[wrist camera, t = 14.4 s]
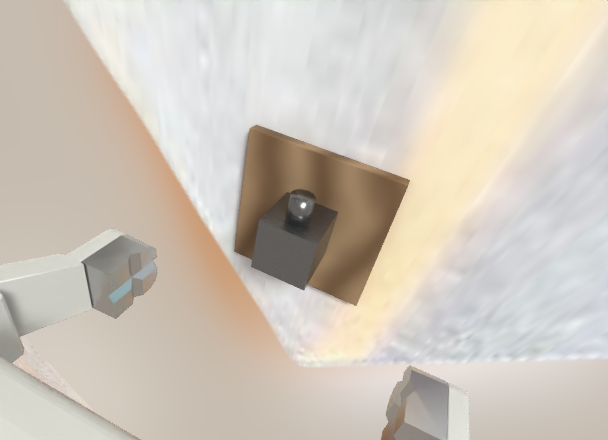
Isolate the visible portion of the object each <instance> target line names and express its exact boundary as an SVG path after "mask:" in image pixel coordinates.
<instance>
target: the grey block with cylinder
mask: <svg viewBox="0 0 608 440" xmlns="http://www.w3.org/2000/svg"><path fill="white" fill-rule="evenodd" d="M315 202H316V196H315V195H314V194H313V193H311V192H310V191H307V190H303V189H296V190H293V191H292V192H291V193H289V192H287V193H286V194H285V195H284V196H283V197H282V198H281V199H280V200H279V201H278V202H277V203H276V204H275V205H274V206H273V207H272V208H271V209H270V210H269V211H268V212H267V213H266V214H265V215H264V216H263V217H262V218H261V219H260V220H259V224H258V230H257V236H256V241H255V247H254V253H253V259H252V265H251V267H253V268H255V269H258V270H260V271H262V272H264V273H266V274H269V275H271V276H273V277H275V278H277V279H280V280H282V281H284V282H286V283H289V284H291V285H293V286H295V287H297V288H300V289H302V290H304V289H305V288H306V286H307V284H308V283H309V281H310V279H311V277H312V276H313V274H314V272H315V271H316V269H317V267H318V265H319V264H320V262H321V260H322V259H323V257H324V255H325V253H326V249H327V246H328V243H329V240H330V237H331V234H332V231H333V228H334V224H335V221H336V218H337V215H338V212H337V211H335V210H332V209H330V208H327V207H325V206H322V205H320V204H317V203H315Z"/></svg>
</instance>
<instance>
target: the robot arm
mask: <svg viewBox="0 0 608 440" xmlns="http://www.w3.org/2000/svg"><path fill="white" fill-rule="evenodd" d="M156 257H157V255H156V249H155V248H153V247H152V246H150V245H148V244H146V243H144V242H142V241H140V240H138V239H135V238H133V237H132V236H130V235H128V234H125V233H123V232H121V231H119V230H117V229H115V228H113V229H108V230H106V231H104V232H103V233H101V234H99V235H98V236H96V237H94V238H93V239H91V240H89V241H88V242H86V243H85V244H83V245H81V246H80V247H78V248H76V249H75V250H73V251H72V252H70V253H68V254H67V255H65V254H63V253H60V254H55V255H49V256H44V257H39V258H33V259H28V260H23V261H17V262H12V263H7V264H2V265H0V440H140V439H138V438H137V437H135V436H133V435H132V434H130V433H128V432H127V431H125V430H123V429H121V428H120V427H118V426H116V425H115V424H113V423H111V422H110V421H108V420H106V419H105V418H103V417H101V416H100V415H98V414H96V413H94V412H93V411H91V410H89V409H88V408H86V407H84V406H83V405H81V404H79V403H78V402H76V401H74V400H72V399H71V398H69V397H67V396H66V395H64V394H62V393H61V392H59V391H57V390H56V389H54V388H52V387H51V386H49V385H47V384H45V383H44V382H42V381H40V380H39V379H37V378H35V377H34V376H32V375H30V374H29V373H27V372H25V371H24V370H22V369H20V368H18V367H17V366H15V365H13V364H12V362H14V361H15V360H16V359H18V358H19V357H20V356H21V355H23V352H24V347H23V345H22V342H21V340H20V336H22V335H25V334H28V333H30V332H33V331H36V330H38V329H41V328H44V327H46V326H49V325H52V324H54V323H57V322H59V321H62V320H65V319H67V318H70V317H73V316H75V315H78V314H81V313H83V312H86V311H88V310H91V309H92V308H95V309H97V310H99V311H101V312H103V313H105V314H107V315H109V316H111V317H113V318H115V319H116V318H117V317H118V316H119V315H120V314H122V313H123V312H124V311H125V310H126V309H127V308H129V307H130V306H131V305H132V304H133V298H134V297H136V296H140V295H143V294H144V293H145V292H146V291H147V290H149V289H150V288H151V286H152V284H153V283H154V281H155V279H156V275H157V267H156V265H155V263H154V262H153V260H154V259H155V258H156ZM386 416H387V419H388V424H387V425H386V427H385V428H384V430H383V433H382V438H381V440H469V396H468V393H467V391H465V390H463V389H460V388H458V387H456V386H454V385H451V384H450V383H447V382H446V381H444V380H441V379H439V378H437V377H435V376H432V375H430V374H428V373H426V372H424V371H421V370H419V369H417V368H415V367H412V366H409V367H407V369H406V370H405V372H404V376H403V381H400V382H398V383H397V384H396V386H395V388H394V390H393V392H392V395H391V397H390V400H389V404H388V407H387V412H386Z"/></svg>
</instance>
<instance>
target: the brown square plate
mask: <svg viewBox="0 0 608 440" xmlns="http://www.w3.org/2000/svg"><path fill="white" fill-rule="evenodd" d="M409 181H410V180H408V179H405V178H402V177H400V176H397V175H394V174H391V173H388V172H386V171H383V170H380V169H377V168H375V167H372V166H369V165H366V164H364V163H361V162H358V161H355V160H352V159H350V158H347V157H344V156H341V155H339V154H336V153H333V152H330V151H327V150H325V149H322V148H319V147H316V146H314V145H311V144H308V143H305V142H303V141H300V140H297V139H294V138H291V137H289V136H286V135H283V134H280V133H278V132H275V131H272V130H269V129H266V128H264V127H261V126H258V125H255V126H253V127H251V128H250V131H249V139H248V147H247V155H246V163H245V171H244V178H243V186H242V194H241V202H240V210H239V218H238V226H237V234H236V242H235V250H234V252H237V253H239V254H241V255H243V256H246V257H248V258H250V259H253V253H254V247H255V241H256V236H257V230H258V224H259V220H260V219H261V218H262V217H263V216H264V215H265V214H266V213H267V212H268V211H269V210H270V209H271V208H272V207H273V206H274V205H275V204H276V203H277V202H278V201H279V200H280V199H281V198H282V197H283V196H284V195H285V194H286V193H287V192H289V193H291V192H292V191H293V190H296V189H303V190H307V191H310V192H311V193H313V194H314V195H315V196H316V202H315V203H317V204H320V205H322V206H325V207H327V208H330V209H332V210H335V211H337V212H338V215H337V218H336V221H335V224H334V228H333V231H332V234H331V237H330V240H329V243H328V246H327V249H326V253H325V255H324V257H323V259H322V260H321V262H320V264H319V265H318V267H317V269H316V271H315V272H314V274H313V276H312V277H311V279H310V281H309V283H308V285H311V286H313V287H315V288H317V289H319V290H322V291H324V292H326V293H328V294H331V295H333V296H335V297H337V298H340V299H342V300H344V301H346V302H349V303H351V304H353V305H355V306H356V305H357V303H358V301H359V298H360V296H361V294H362V291H363V289H364V287H365V284H366V282H367V280H368V277H369V275H370V273H371V271H372V268H373V266H374V264H375V261H376V259H377V257H378V254H379V252H380V250H381V247H382V245H383V243H384V240H385V238H386V236H387V233H388V231H389V229H390V226H391V224H392V222H393V220H394V217H395V215H396V213H397V210H398V208H399V206H400V203H401V201H402V199H403V196H404V194H405V192H406V189H407V187H408V184H409Z"/></svg>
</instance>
